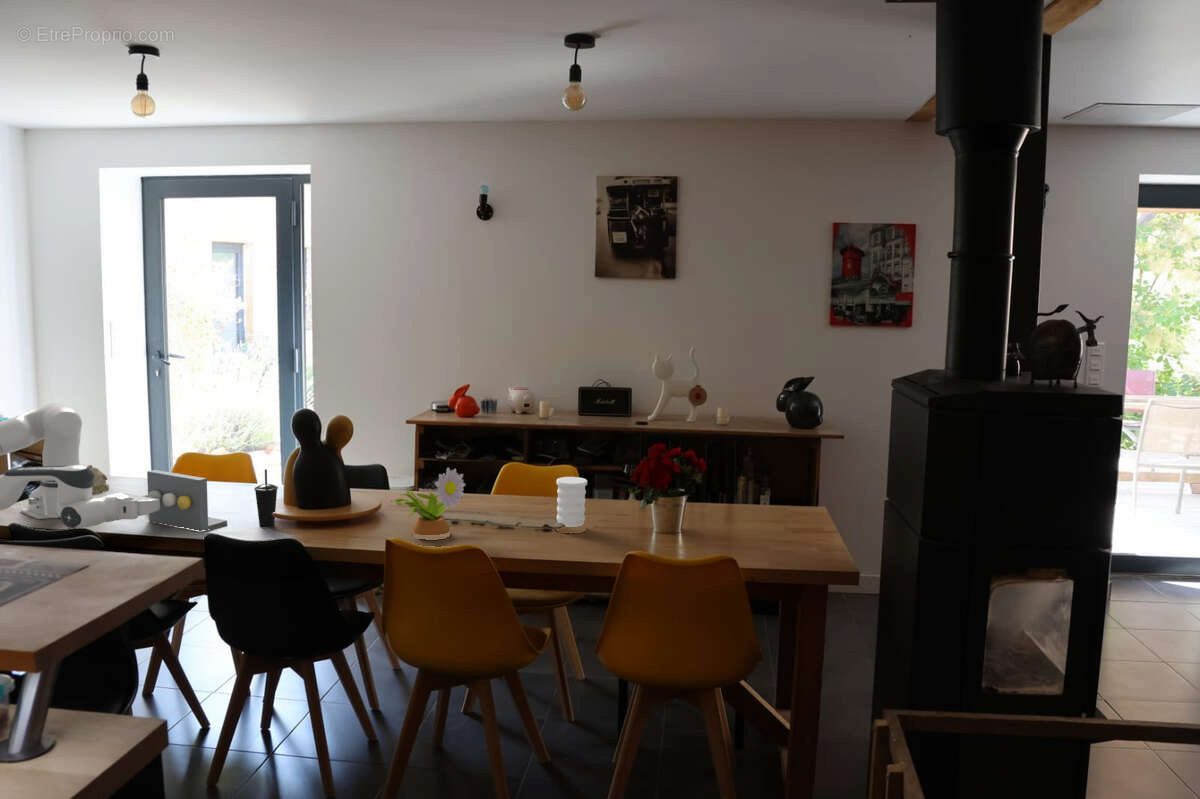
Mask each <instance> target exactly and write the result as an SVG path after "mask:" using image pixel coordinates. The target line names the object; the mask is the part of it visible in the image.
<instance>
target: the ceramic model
mask: <svg viewBox="0 0 1200 799" xmlns="http://www.w3.org/2000/svg"><path fill="white" fill-rule="evenodd" d="M87 467H88V468H90V469H91V470H92V471H93V473H94V474H95V478H94V484H93V489H92V494H100V493H103V492H105V491H109V490H110V484H107V483H106V482H107V480H108V478H107V475H106V474H105V473H103V472H102V471H101V470H100V469H99V468H97V467H93V465H91V464H90V465H87Z"/></svg>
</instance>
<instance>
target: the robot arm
mask: <svg viewBox="0 0 1200 799" xmlns="http://www.w3.org/2000/svg"><path fill="white" fill-rule="evenodd" d="M82 425H83V424H82V417H81V415H80V414H79V412H77V410H75V409H73V408H72V407H70V406H66V404H62V403H61V402H60V403H59V402H52V403H46V404H45V405H42V406H40V407H39V406H38V407H37V408H34V409H32V410H28V411H26V412H24V413H22V414H20V415H17V416H15V417H11V418H7V419H5V420H0V456H4V455H7V454H10V453H13V452H16V451H19V450H22V449H27V448H28V447H31V446H32V445H34V444H36V443H38V442H40V441H42V440H43V441H44V442H43V450H42V453H41V454H42V455H41V456H42V466H20V467H19V466H18V467H13V468H10V469H7V470H6V471H5V473H3V474H0V511H4V510H6V509H9V508H11V507H12V506H13V505H15V504H16V503H17V502H18V501H19V499H20V498H21V496H22V494H23V493H24V491H25V488H26V486H27V485H28V484H29V482H39V481H40V485H39V486H38V487H37V488H36V489H34V491H32V492H31V493H30V494H29V495H28V503H27V504H28V506H25V507H23V508H21V509H20V512H21V513H23V514H24V515H27V516H30V517H32V518H34V519H37V520H41V519H43V520H44V519H59V518H60V520H61V522H62V524H63V525H64V526H65V527H67V528H69V529H73V528H76V529H85V528H91V527H95V526H98V525H100V524H103V523H110V522H114V521H121V520H136V519H138V517H142V516H145V515H146V516H147V515H149V514H150V513H153V512H156V511H158V510H159V509H160V500H159V499H156V497H155V496H152V495H148V494H147V495H139V494H138V495H137V494H134V493H133V494H132V493H126V492H119V491H118V492H113V493H108V494H104V495H101V496H99V497H93V493H92V489H93V484H94V478H95V474H94V473H93V471H92V470H91V469H90V468H88V465H85V464H80V446H81V444H80V443H81V435H82V434H81V432H82Z"/></svg>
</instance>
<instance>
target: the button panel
mask: <svg viewBox="0 0 1200 799" xmlns="http://www.w3.org/2000/svg"><path fill="white" fill-rule="evenodd" d="M146 475H147V477H146V478H147V479H146V480H147V495H148V494H149V492H151V491H155V490H159V491H160V492H161V494H162V501H161V502H160V509H159V510H158V511H156V512H153V513H150V514H148V522H149V521H150V522H149V523H151V522H156V523H162V524H167V525H172V526H177V527H184V528H189V529H194V530H199V531H202V530H208V529H211V530H214V529H213V528H215V529H218V528H220V527H224V525H225V526H228V520H226V519H221V518H216V517H209V513H208V512H209V510H208V509H209V507H208V506H209V504H208V503H209V501H208V478H206V477H201V476H193V475H188V474H181V473H176V472H170V471H164V470H158V469H153V470H152V469H151V470H147V472H146ZM168 493H174V494H175V495H176V498H177V500H178V498H179V497H181V496H185V495H187V496H189V497H190V498H191V501H192V504H191V507H190V508H187V509H180V508H179V507H178V504H177V502H176V504H175V505H173V506H169V507H167V506H165V505H164V503H163V496H164V495H165V494H168ZM156 523H155V524H156ZM217 527H218V528H217ZM208 531H209V530H208Z"/></svg>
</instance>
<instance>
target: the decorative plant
mask: <svg viewBox="0 0 1200 799" xmlns="http://www.w3.org/2000/svg"><path fill="white" fill-rule="evenodd" d="M445 471H446V472H444V473H442V474H441V473H439V474H438V481H435V482H434V484H435V486H436V487H437V491H436V492H435V493H432V492H431V491H430V492H429V495H428V494H423V493H417V494H416V495H415V494H414V493H413V491H412V490H411V491H410V490H406V493H403V494H402V495H404V496H406V497H408V498H409V499H410V500H411V501H409V500H408V499H404V498H398V499H395V500H390V502H391V503H395V504H397V505H398V506H404V505H407V506H408V507H409V508H411V511H410V514H409V517H410V516H412V515H413V514H415V513H417V514H418V515H419V516H418V518H417V519H418V520H417V522H416V523H415V525H414V526H413V529H412V533H413V532H414V533H415V534H419V535H440V534H445V533H448V532H449V531H450V532H451V530H450V525H449V524H448V523H447V521H446V519H445V517H444V516H443V515H442V514H443V513H444V512H445V511H446V510H447V509H448V508H450V507H451V509H453V510H454V509H455V506H456V505H457V504H459V505H461V500H462V499H463V497H464V496H465V493H464V492H463V491H464V487H466V483H465V482H464V479H463V477H464V473H460V474H459V473H458V472H457V469H456V468H454V469H450V467H447V468H446V470H445ZM418 497H420V498H423V499H427V500H428V502H427V505H426V504H425V503H424V502H423V500H422V499H420V498H418ZM438 497H439V503H438V499H437V498H438Z"/></svg>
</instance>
